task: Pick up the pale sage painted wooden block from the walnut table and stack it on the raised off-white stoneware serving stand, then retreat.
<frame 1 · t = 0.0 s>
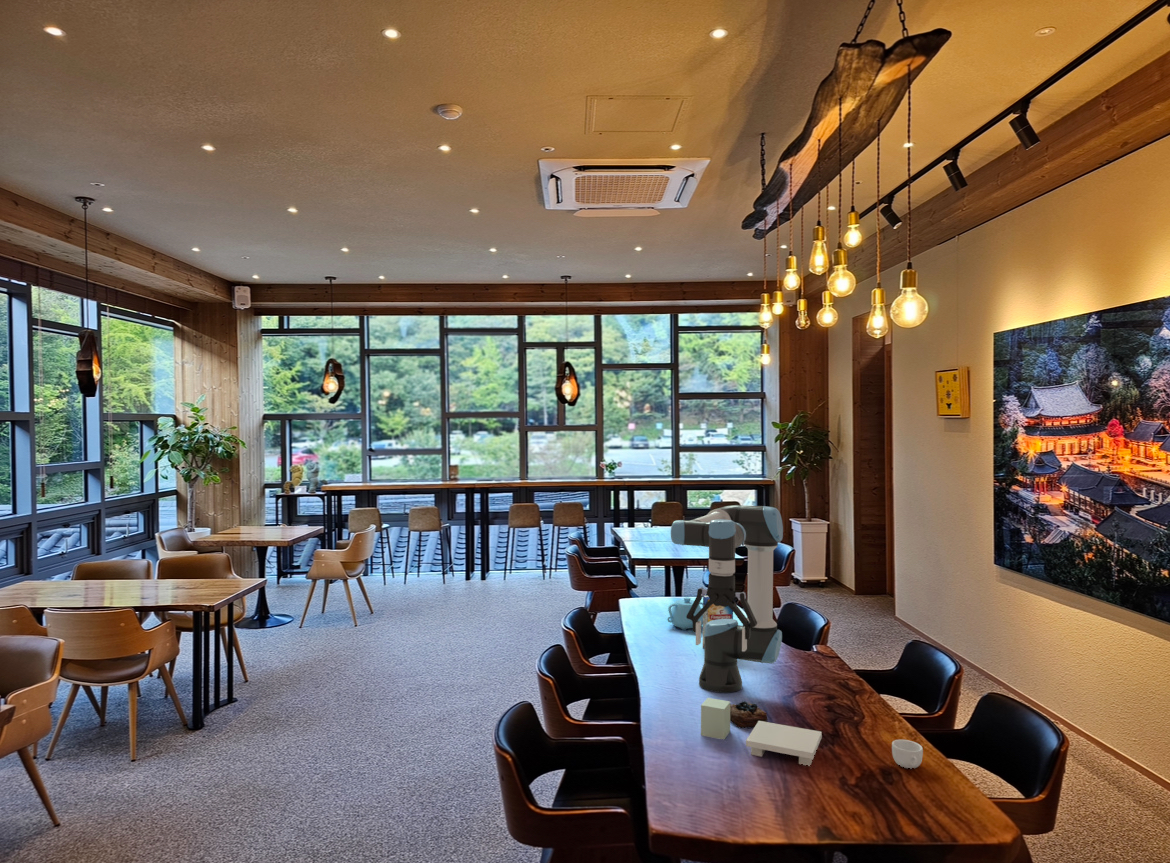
hand: (720, 647, 213), 28 cm above the table, fingers open, 13 cm apart
sage block: (715, 733, 221), on the table
serving stand: (784, 751, 208), on the table
beverage box: (717, 650, 307), on the table
pastry: (746, 722, 231), on the table
decorative pot: (686, 627, 344), on the table
teacup: (908, 767, 200), on the table
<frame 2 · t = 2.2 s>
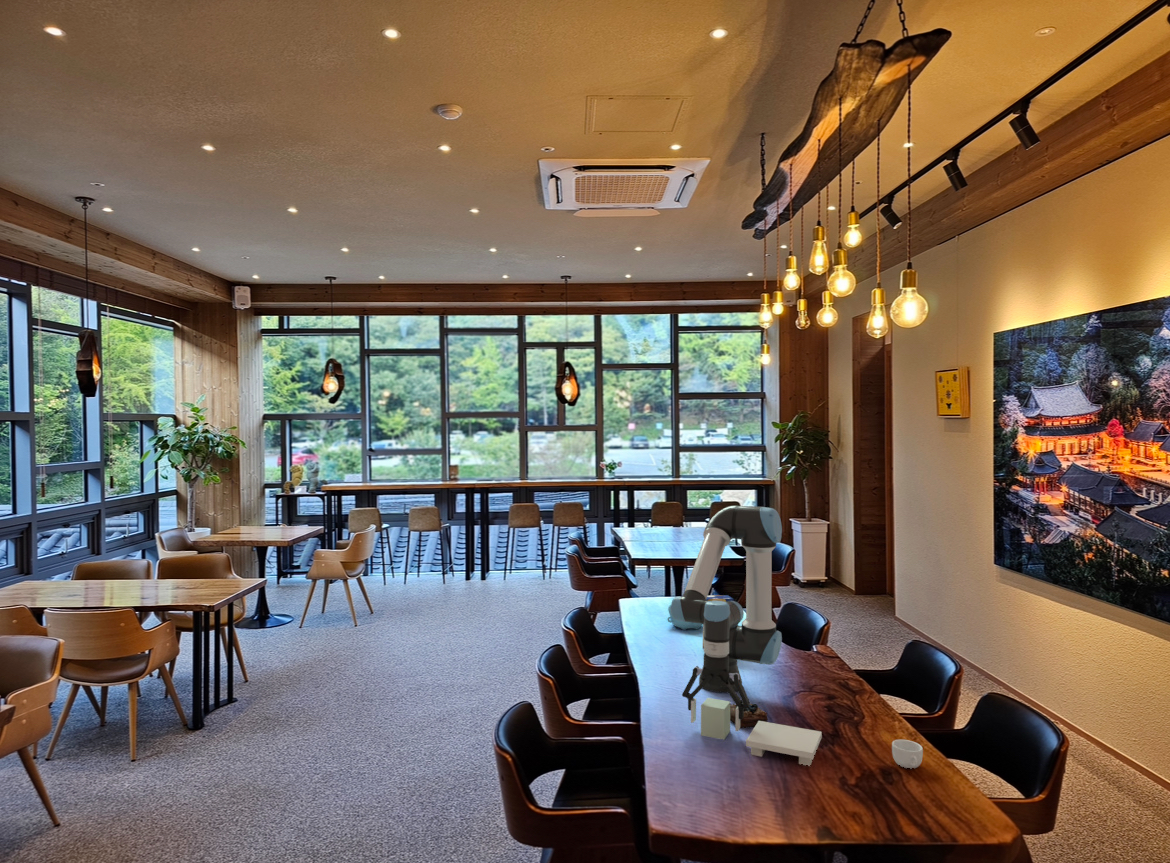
hand: (715, 725, 221), 2 cm above the table, fingers open, 13 cm apart
nothing on the table moved.
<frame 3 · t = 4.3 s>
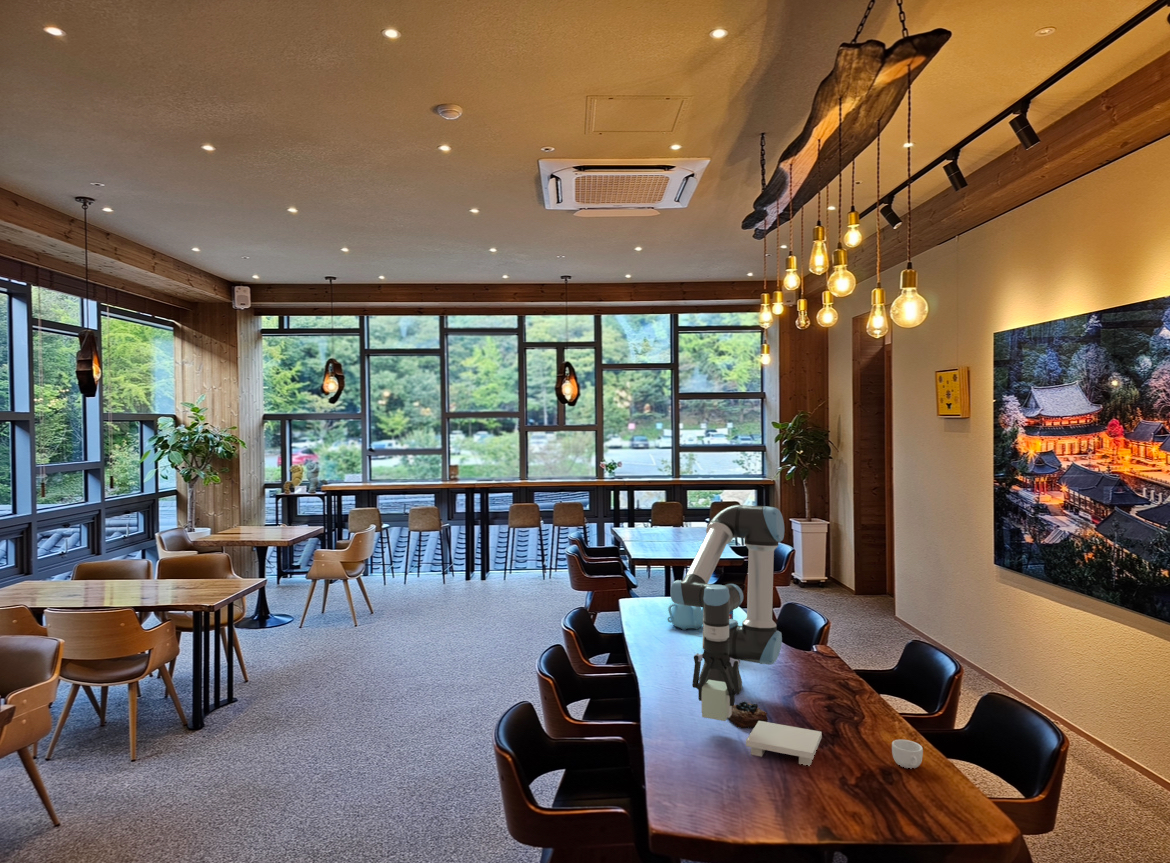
hand: (716, 713, 221), 6 cm above the table, fingers closed on sage block, 7 cm apart
sage block: (716, 714, 222), point 5 cm above the table, touching gripper
everything else where it was.
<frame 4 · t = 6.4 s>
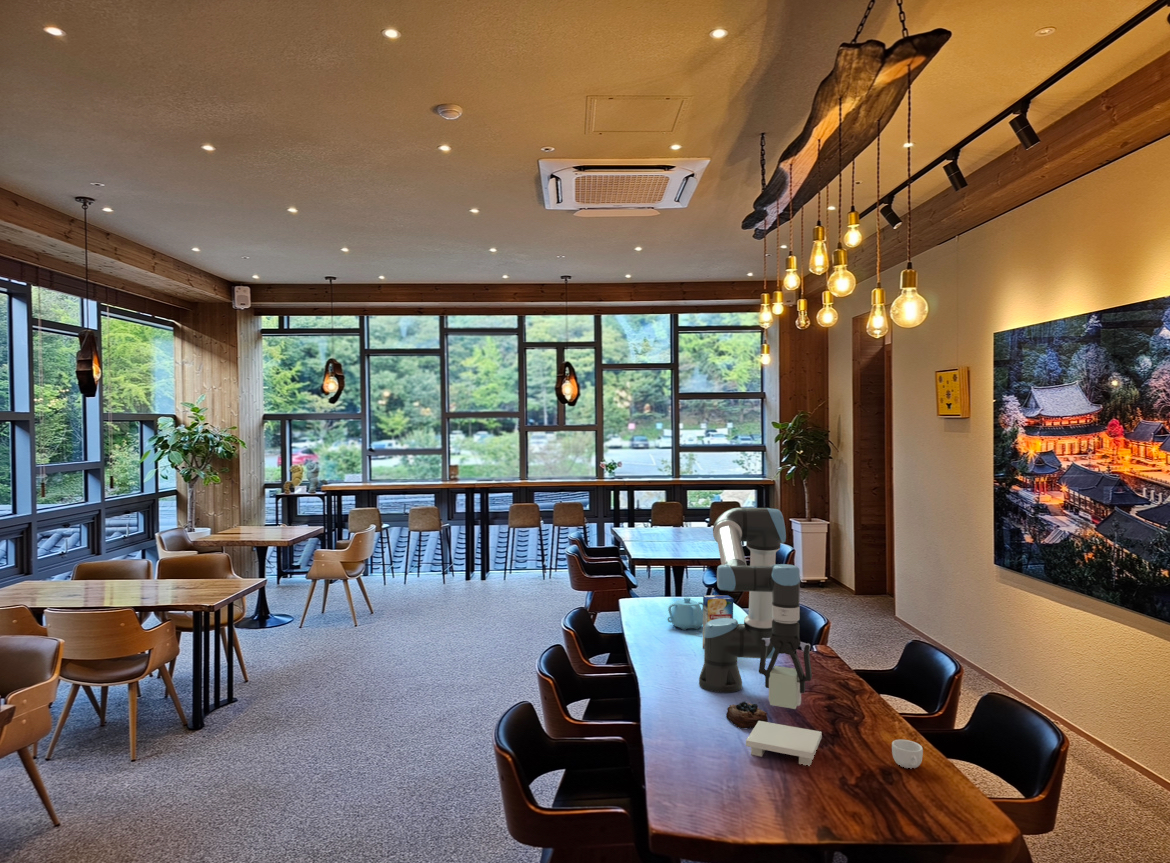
hand: (784, 701, 208), 14 cm above the table, fingers closed on sage block, 7 cm apart
sage block: (784, 702, 208), point 14 cm above the table, touching gripper
everything else where it was.
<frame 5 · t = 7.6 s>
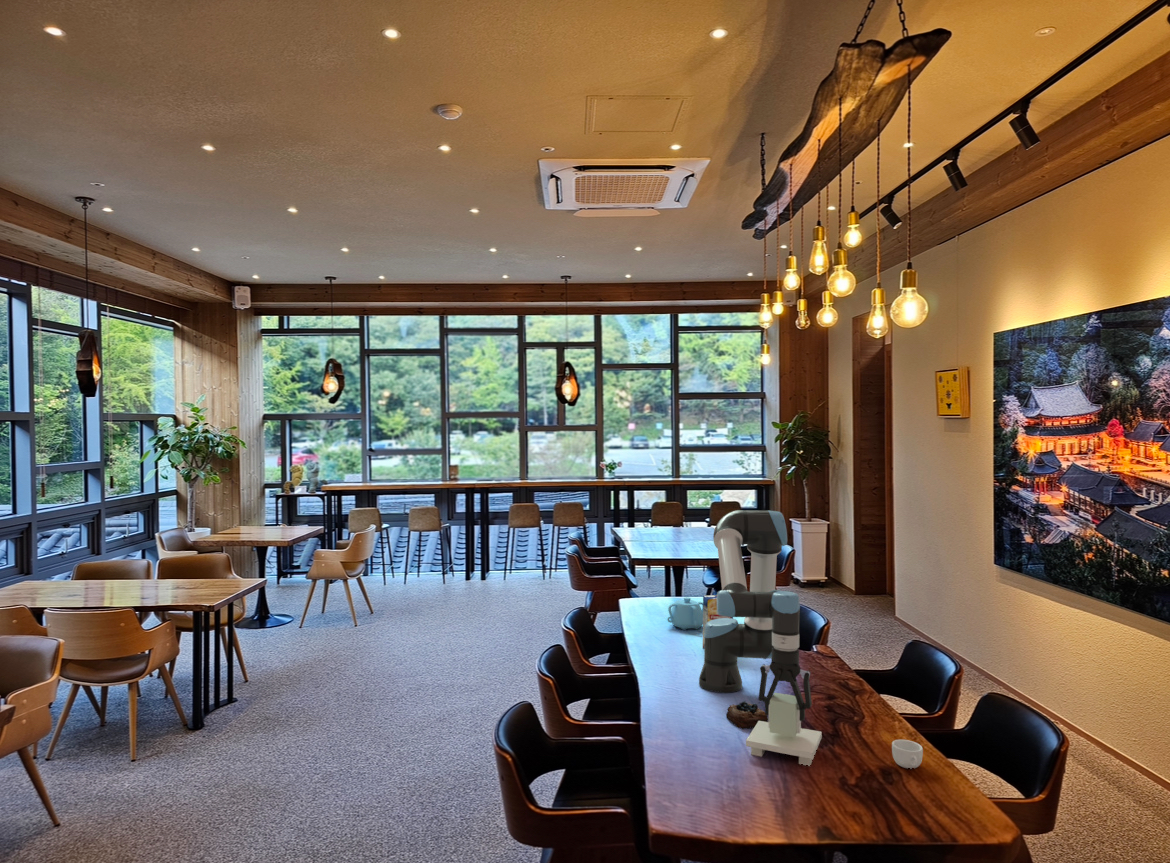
hand: (784, 729, 208), 6 cm above the table, fingers closed on sage block, 7 cm apart
sage block: (784, 730, 208), point 6 cm above the table, touching gripper
everything else where it was.
when the fingers open (5 cm above the table, at t = 8.6 s): sage block stays where it is, resting on serving stand.
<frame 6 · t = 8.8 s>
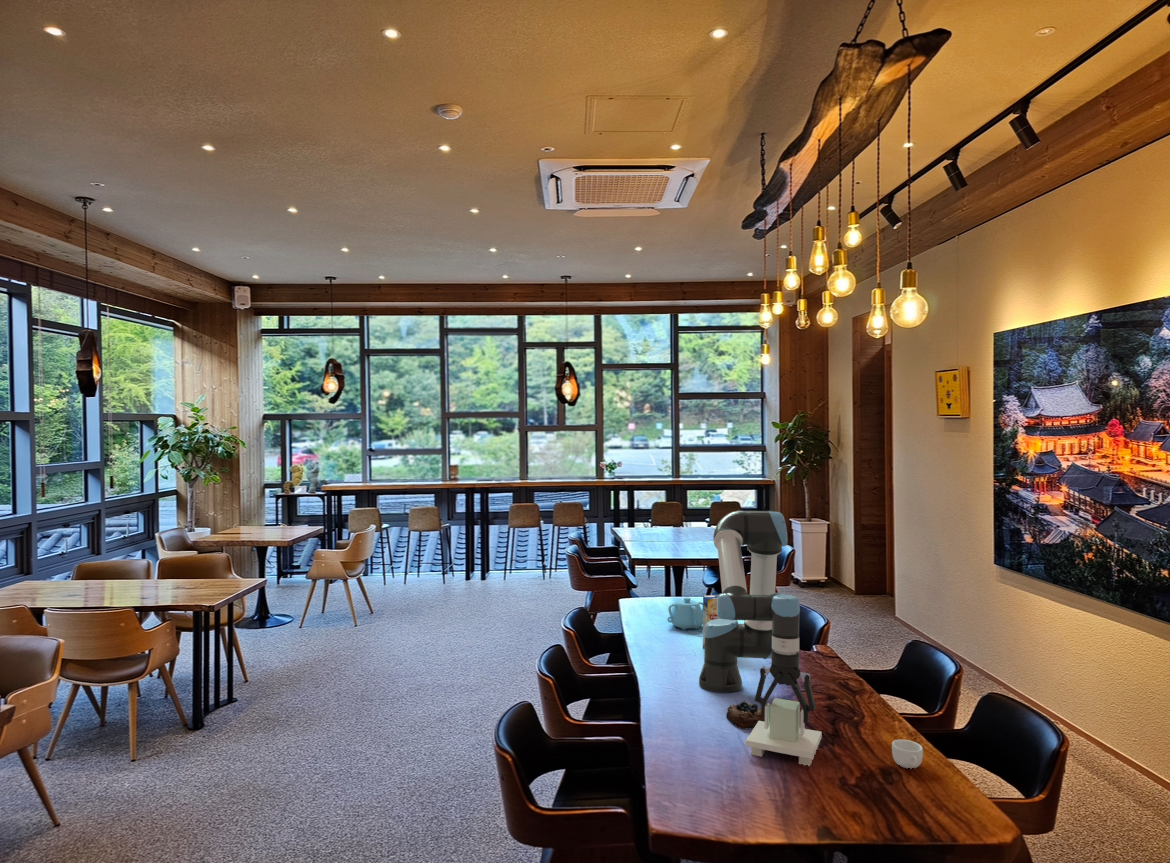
hand: (784, 730, 208), 6 cm above the table, fingers open, 9 cm apart
sage block: (784, 735, 208), point 4 cm above the table, touching serving stand
everything else where it was.
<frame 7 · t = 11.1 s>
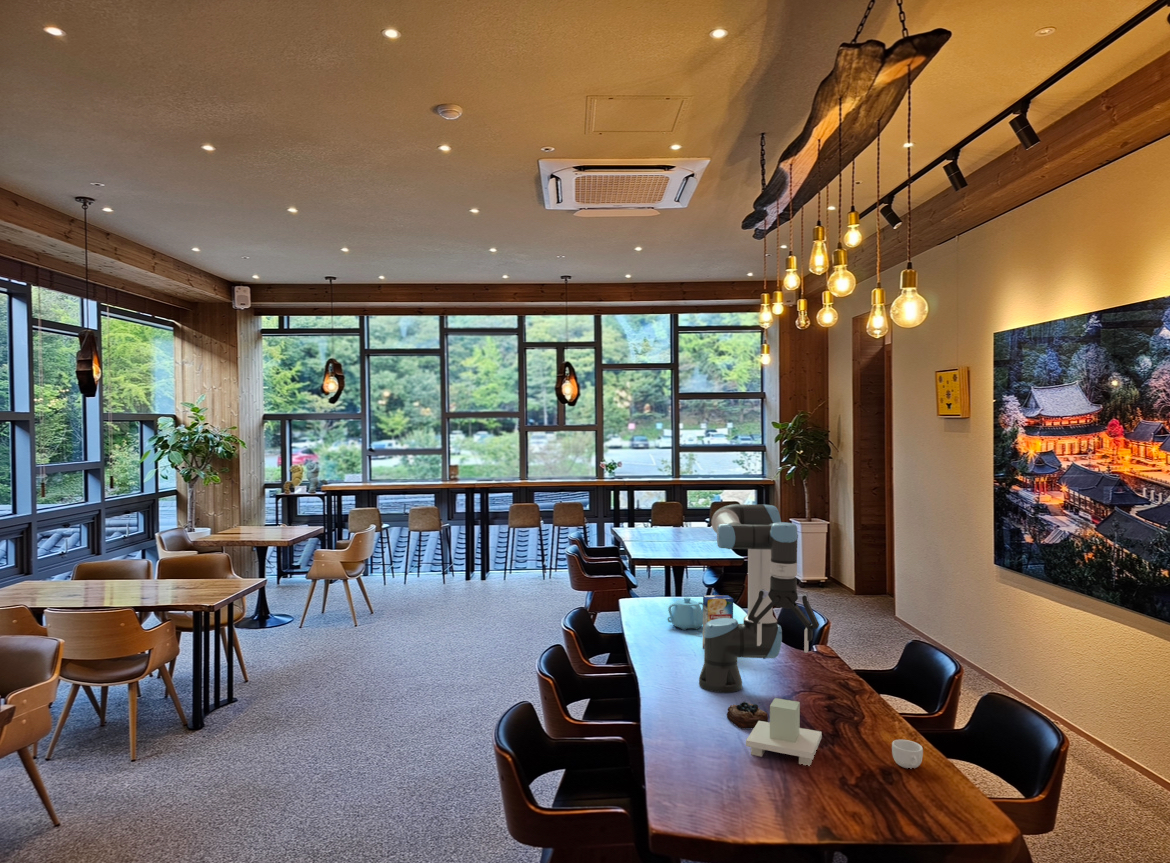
hand: (782, 648, 216), 27 cm above the table, fingers open, 13 cm apart
nothing on the table moved.
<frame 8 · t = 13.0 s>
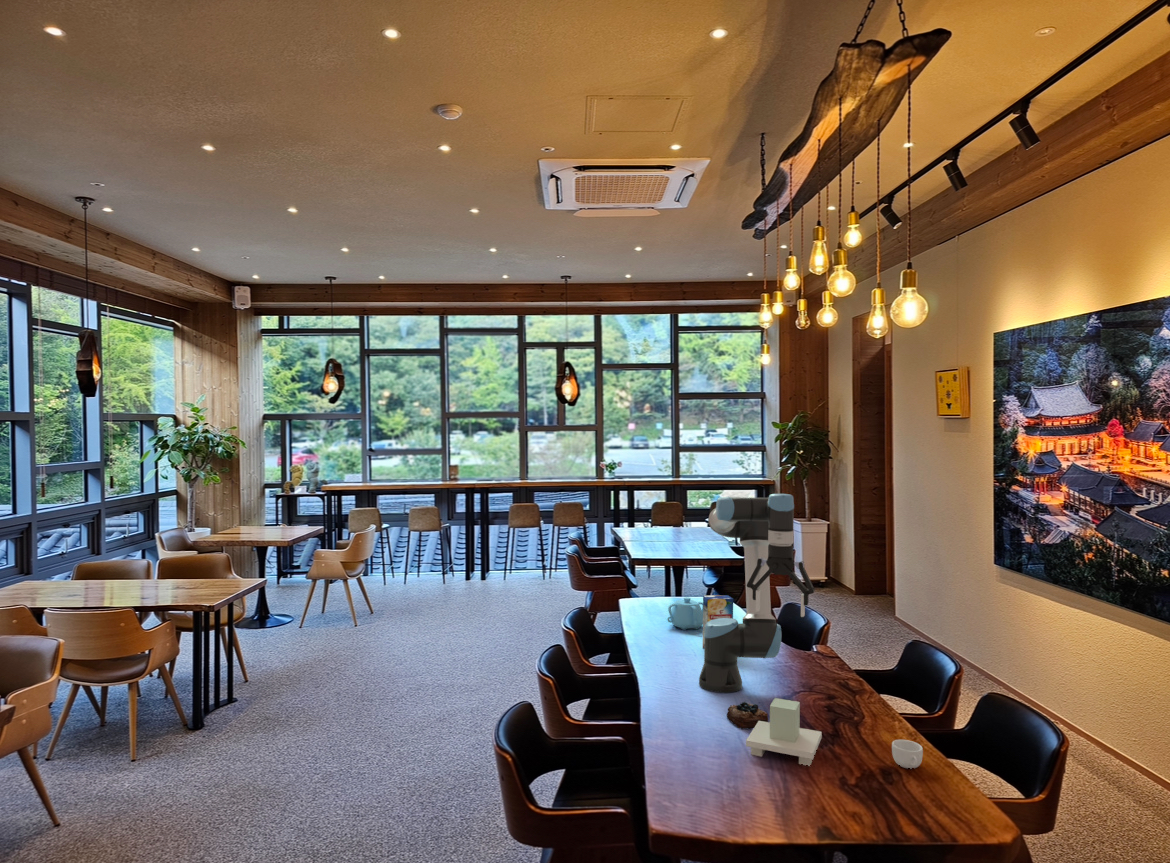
hand: (780, 613, 227), 35 cm above the table, fingers open, 13 cm apart
nothing on the table moved.
at the end: sage block inside the target area on the serving stand (0.1 cm from its centre), point 4.5 cm above the serving stand's base; sage block tilted 0°; the gripper is holding nothing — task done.
